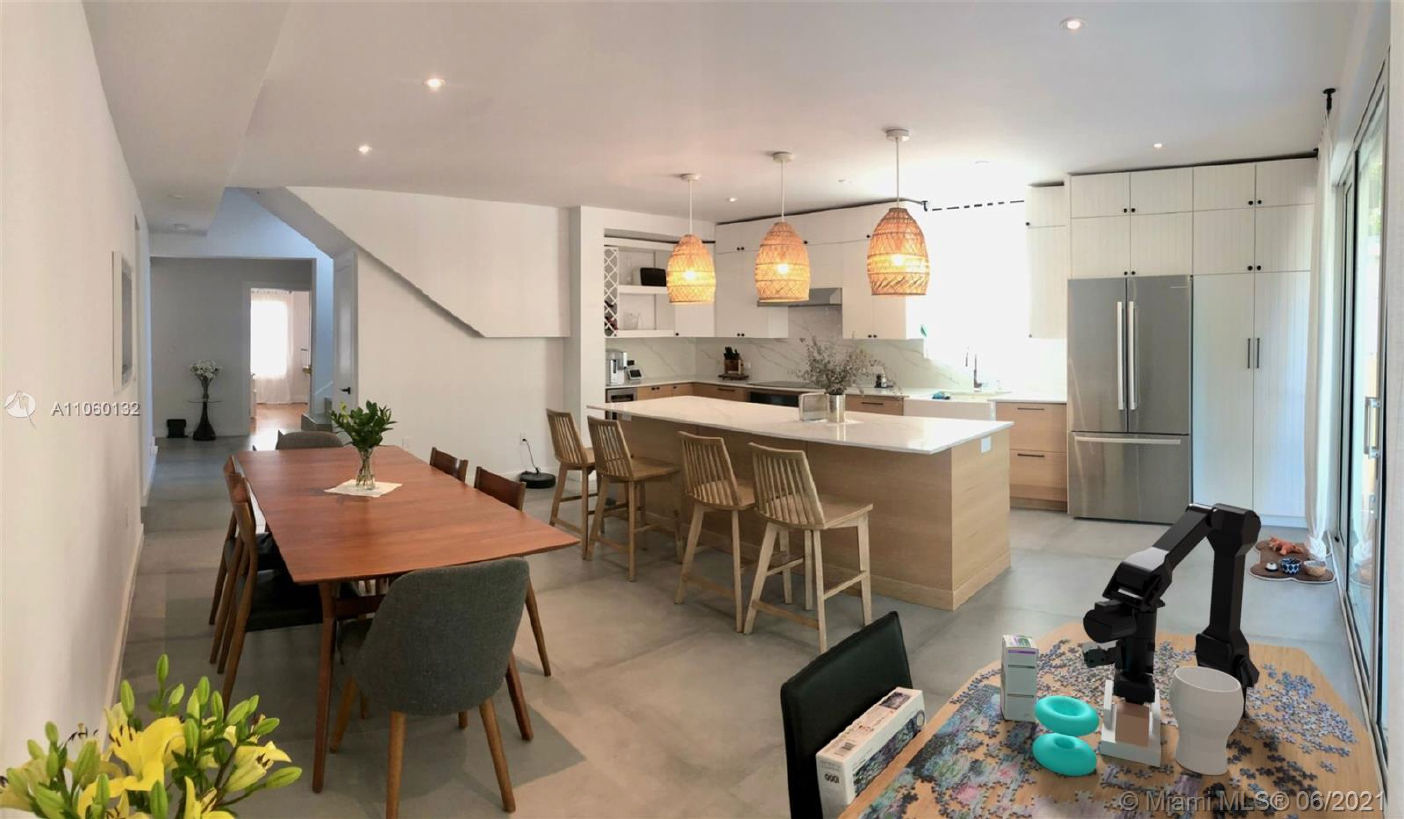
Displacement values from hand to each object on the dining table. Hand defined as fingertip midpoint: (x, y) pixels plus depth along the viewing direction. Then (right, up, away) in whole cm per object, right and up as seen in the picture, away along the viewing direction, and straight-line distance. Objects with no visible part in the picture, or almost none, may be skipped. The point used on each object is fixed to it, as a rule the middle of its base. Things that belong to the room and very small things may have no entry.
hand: (1131, 716), depth 145 cm
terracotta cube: (-2, -2, -4) cm, 5 cm away
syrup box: (-17, -3, +9) cm, 19 cm away
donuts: (-15, -5, -7) cm, 17 cm away
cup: (+8, -5, -7) cm, 12 cm away
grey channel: (+1, -4, +3) cm, 5 cm away
